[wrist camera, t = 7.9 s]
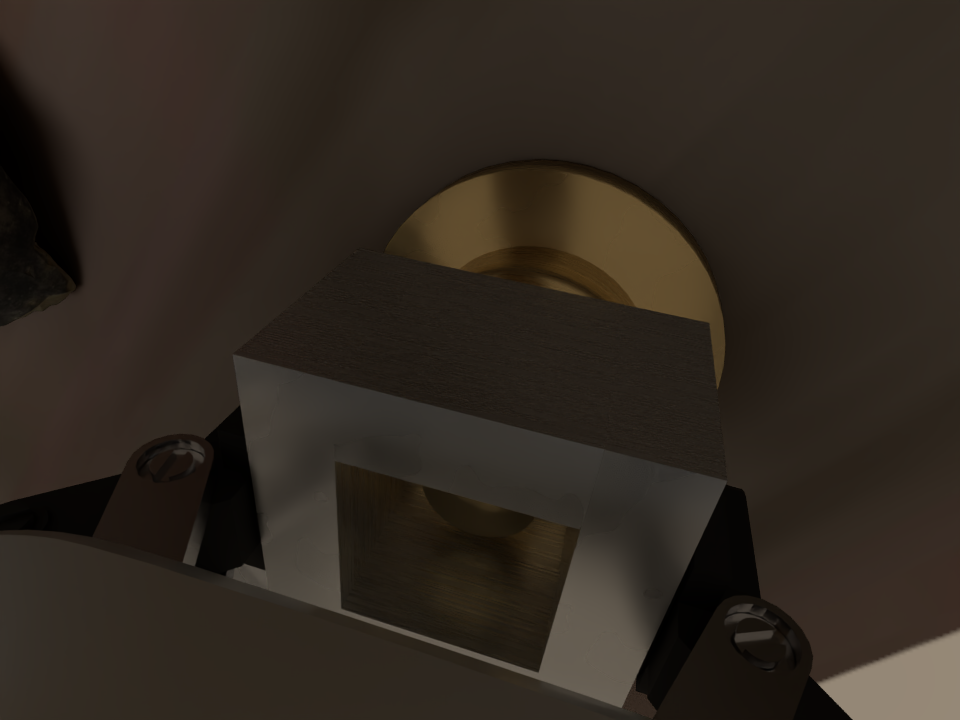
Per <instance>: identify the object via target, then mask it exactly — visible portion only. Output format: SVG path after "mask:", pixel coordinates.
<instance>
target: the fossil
mask: <svg viewBox="0 0 960 720" xmlns="http://www.w3.org/2000/svg"><path fill="white" fill-rule="evenodd" d="M37 230H38V223H37V219H36V216H35V214H34V212H33V210H32V208H31V205H30V203H29V202H28V200H27V198H26V197H25V196H24V195H23V194H22V192H21V191H20V190H19V189H18V188H17V187H16V186H15V184H14V183H13V182H12V181H11V179H10V178H9V177H8V175H7V174H6V173H5V171H4V170H3V168H2V167H1V165H0V326H4V325H7V324H9V323H11V322H12V321H14V320H16V319H19V318H23V317H26V316H27V315H29V314H30V313H32V312H33V311H44V310H45V309H47V308H48V307H49V306H51V305H57V304H58V303H60V302H61V301H63V300H64V299H65V298H66V297H67V296H68V295H69V294H70V293H71V292H72V291H74V290H75V289H76V285H75V283H74V282H73V280H72V278H71V277H70V276H69V275H68V274H67V273H66V272H65V271H64V270H63V269H62V268H60V267H59V266H58V265H57V264H56V262H55V261H54V260H53V259H52V258H51V256H50V255H49V254H48V253H46V252H45V251H44V250H43V249H42V248H40V247H39V246H38V245H37V242H35V236H36V233H37Z"/></svg>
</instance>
